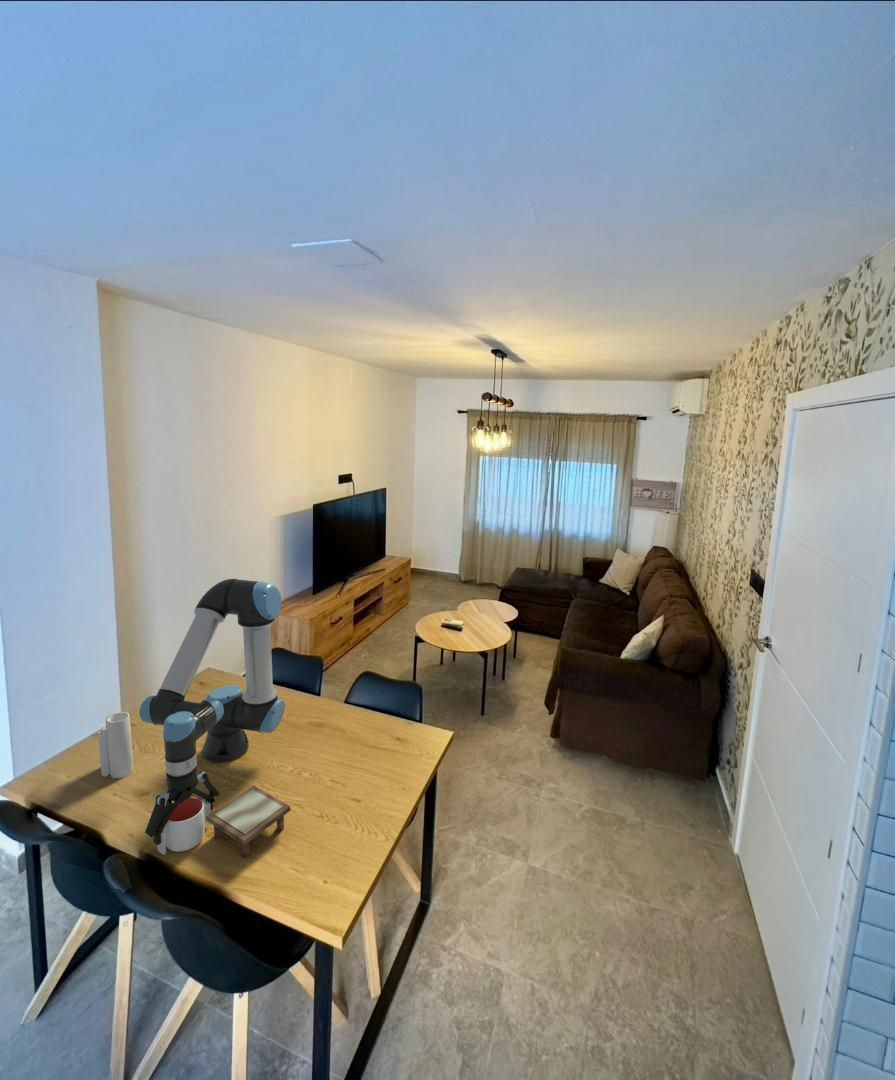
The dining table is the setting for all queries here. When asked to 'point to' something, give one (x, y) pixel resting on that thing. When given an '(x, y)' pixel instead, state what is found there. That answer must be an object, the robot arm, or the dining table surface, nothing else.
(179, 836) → the cup
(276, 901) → the dining table surface
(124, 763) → the vase
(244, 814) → the footstool
